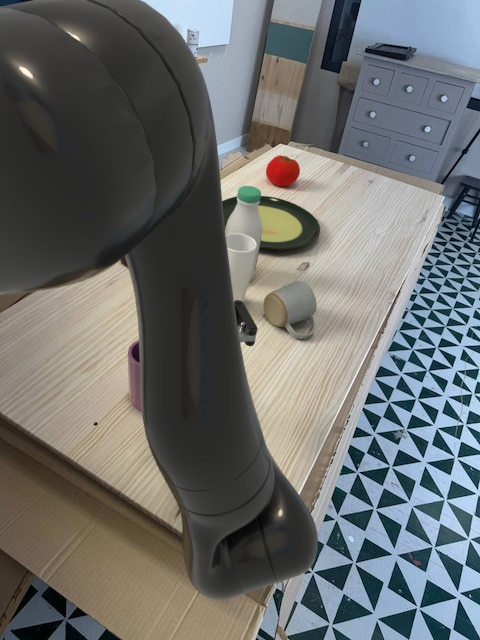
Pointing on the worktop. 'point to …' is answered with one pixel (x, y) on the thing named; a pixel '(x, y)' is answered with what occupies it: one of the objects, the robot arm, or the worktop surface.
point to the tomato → (282, 171)
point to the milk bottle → (247, 217)
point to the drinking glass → (240, 262)
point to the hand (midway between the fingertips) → (187, 288)
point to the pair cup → (134, 375)
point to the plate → (280, 223)
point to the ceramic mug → (291, 307)
